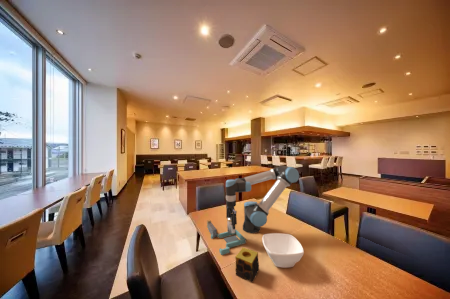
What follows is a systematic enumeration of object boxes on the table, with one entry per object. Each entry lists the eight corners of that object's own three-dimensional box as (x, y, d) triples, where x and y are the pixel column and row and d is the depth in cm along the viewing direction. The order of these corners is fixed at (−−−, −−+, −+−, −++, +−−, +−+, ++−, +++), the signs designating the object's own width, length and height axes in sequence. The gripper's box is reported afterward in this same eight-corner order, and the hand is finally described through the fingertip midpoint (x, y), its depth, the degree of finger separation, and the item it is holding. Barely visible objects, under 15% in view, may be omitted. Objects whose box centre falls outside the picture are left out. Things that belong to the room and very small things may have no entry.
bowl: (260, 250, 104) (259, 232, 105) (293, 250, 104) (292, 232, 104) (268, 276, 82) (267, 254, 82) (310, 276, 82) (309, 254, 82)
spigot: (229, 228, 121) (229, 215, 121) (236, 230, 119) (236, 217, 119) (226, 232, 115) (225, 219, 116) (233, 234, 113) (233, 220, 113)
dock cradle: (235, 231, 129) (234, 228, 129) (249, 246, 109) (249, 242, 109) (210, 237, 121) (210, 233, 121) (221, 255, 100) (221, 250, 100)
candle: (252, 283, 78) (252, 263, 78) (235, 275, 84) (234, 256, 84) (259, 270, 87) (258, 252, 87) (243, 263, 92) (242, 246, 92)
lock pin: (210, 227, 137) (210, 219, 137) (216, 236, 122) (216, 228, 122) (207, 228, 136) (206, 220, 136) (213, 237, 121) (212, 229, 121)
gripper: (221, 197, 125) (222, 226, 124) (231, 204, 107) (232, 238, 107) (230, 196, 128) (230, 224, 127) (241, 203, 110) (241, 235, 110)
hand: (231, 230), depth 117 cm, fingers closed on spigot, 6 cm apart
